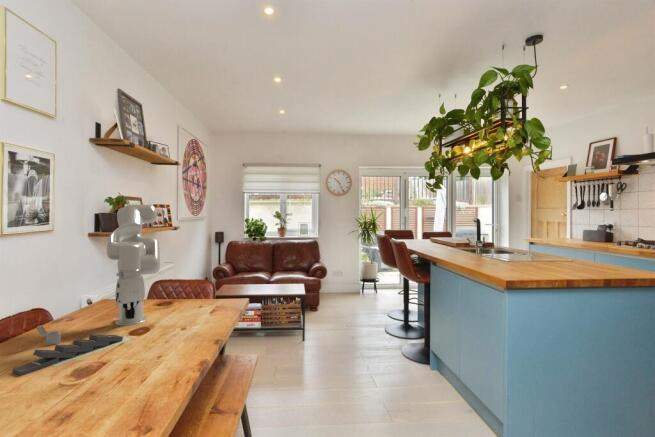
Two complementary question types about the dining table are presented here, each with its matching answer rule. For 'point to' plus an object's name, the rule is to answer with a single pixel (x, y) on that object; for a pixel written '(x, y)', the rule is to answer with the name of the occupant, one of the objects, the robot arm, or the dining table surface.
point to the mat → (95, 349)
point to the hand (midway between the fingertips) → (129, 318)
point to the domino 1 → (35, 366)
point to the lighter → (50, 336)
